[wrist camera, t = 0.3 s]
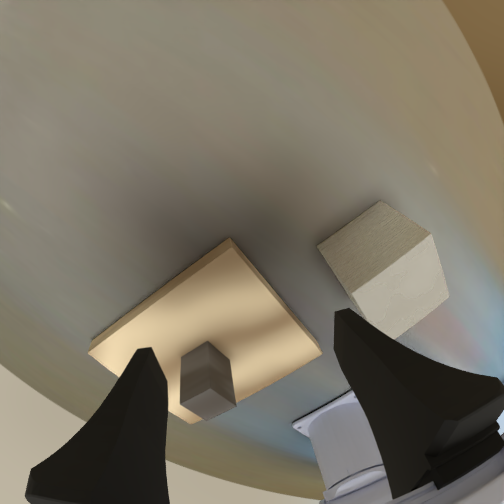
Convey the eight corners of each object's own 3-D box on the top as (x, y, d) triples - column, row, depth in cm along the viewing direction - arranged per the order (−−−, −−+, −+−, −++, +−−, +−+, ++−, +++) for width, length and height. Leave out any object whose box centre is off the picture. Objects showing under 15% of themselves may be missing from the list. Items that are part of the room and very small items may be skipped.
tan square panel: (317, 341, 25) (341, 395, 20) (190, 412, 27) (192, 464, 22) (229, 237, 20) (240, 287, 15) (92, 340, 22) (73, 396, 17)
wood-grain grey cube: (405, 256, 23) (449, 296, 18) (349, 297, 24) (383, 347, 19) (380, 200, 21) (431, 233, 15) (316, 246, 21) (351, 293, 16)
